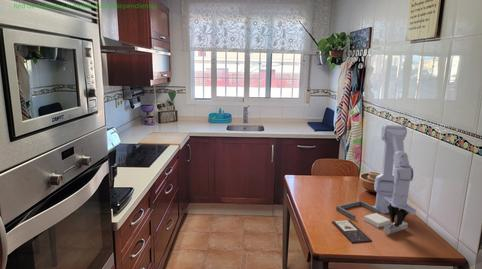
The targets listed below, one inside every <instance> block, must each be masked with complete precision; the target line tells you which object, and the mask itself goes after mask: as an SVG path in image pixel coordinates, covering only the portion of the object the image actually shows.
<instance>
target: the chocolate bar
mask: <svg viewBox="0 0 482 269" xmlns="http://www.w3.org/2000/svg"><path fill="white" fill-rule="evenodd" d="M331 224H332V225H334V227H336V229H337V230H338V231H339V232H340V233H341V234H342V235H343V236H344V237H346V238H347V240H348V241H349V242H350V243H351V244H359V243H371V242H373V240H372V239H371V238H370V237H369V236H368V235H367V234H366V233H364V232H363V231H362V230H361V229H360V228H359V227H358V226H357V225H356V224H354V223H353V221H351V219H348V220H347V219H346V220H337V221H336V220H334V221H331Z"/></svg>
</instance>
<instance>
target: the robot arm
mask: <svg viewBox="0 0 482 269" xmlns="http://www.w3.org/2000/svg"><path fill="white" fill-rule="evenodd" d="M407 132H408V129H407V126H406V125H400V124H399V125H397V124H396V125H395V124H386V123H385V124H384V125H383V126H382V128H381V136H380V137H381V141H383V142H384V147H383V148H384V149H383V160H382V161H383V162H382V168H381V170H382V172H381V173H380V174H378V175H376V176H375V178H374V182H373V183H374V185H373V189H374V191H375V192H376V198H375V204H374V205H372V206H373V207H375V208H377V209H379V213H382V214H387V213H389V214H390V223H391V222H392V223H393V222H394V215H395V213H397V215H398V220H397V225H402V222H403V221H404V220H405V218H406V217H407V215H408V214H410V215H412V216H414V215H416V213H417V209H415V208H413V207H412V206H410V205H409V204H408V197H409V190H410V186H411V185H410V182H412V181H413V179H414V168H413V167H412V166H411V164H410V160H409V157H408V156H409V155H408V153H407V152H405V145H404V144H405V143H404V141H405V139H406V137H407V134H408V133H407Z"/></svg>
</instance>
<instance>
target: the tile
mask: <svg viewBox="0 0 482 269" xmlns="http://www.w3.org/2000/svg"><path fill="white" fill-rule="evenodd" d="M363 221H365V222H367V223H368V224H370V225H372V226H373V227H376V228H378V227H379V228H382V227H384V226H386V225H390V224H391V218H388V217H385V216H384V215H381V214H379V213H378V214H377V213H375V212H374V213H370V214H367V215H364V217H363Z"/></svg>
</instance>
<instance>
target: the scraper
mask: <svg viewBox="0 0 482 269" xmlns="http://www.w3.org/2000/svg"><path fill="white" fill-rule="evenodd" d="M397 220H398V215H397V213H395V215H394V222H392V223H390V224H388V225H385V226H383V231H384V232H386V233H388V234H389V235H390V234H393V233H397V232H399V231H402V230H404V229H405V230H406V229H408V225H409V223H407V221H404V220H403V222H402V225H397Z"/></svg>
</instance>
